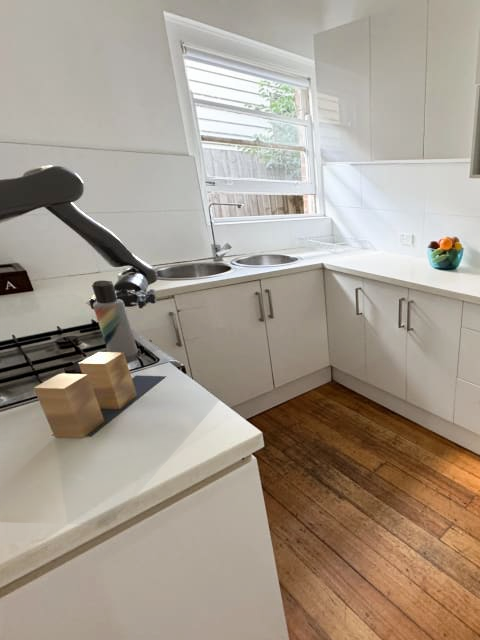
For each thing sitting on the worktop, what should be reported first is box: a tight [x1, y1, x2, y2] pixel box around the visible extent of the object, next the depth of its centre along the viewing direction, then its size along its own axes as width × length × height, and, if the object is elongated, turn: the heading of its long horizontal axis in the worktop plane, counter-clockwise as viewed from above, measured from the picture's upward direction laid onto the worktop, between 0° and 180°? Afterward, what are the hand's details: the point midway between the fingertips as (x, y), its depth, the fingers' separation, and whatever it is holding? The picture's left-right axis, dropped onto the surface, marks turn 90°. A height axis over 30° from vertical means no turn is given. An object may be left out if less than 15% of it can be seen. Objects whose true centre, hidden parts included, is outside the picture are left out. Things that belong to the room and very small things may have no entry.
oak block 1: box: [33, 373, 104, 439], centre depth 67 cm, size 5×5×10 cm
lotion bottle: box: [91, 280, 140, 364], centre depth 91 cm, size 6×6×20 cm
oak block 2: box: [78, 351, 137, 409], centre depth 75 cm, size 5×5×10 cm
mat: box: [51, 375, 167, 438], centre depth 77 cm, size 22×7×1 cm, turn 0°
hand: (120, 306), depth 98 cm, fingers open, 8 cm apart
